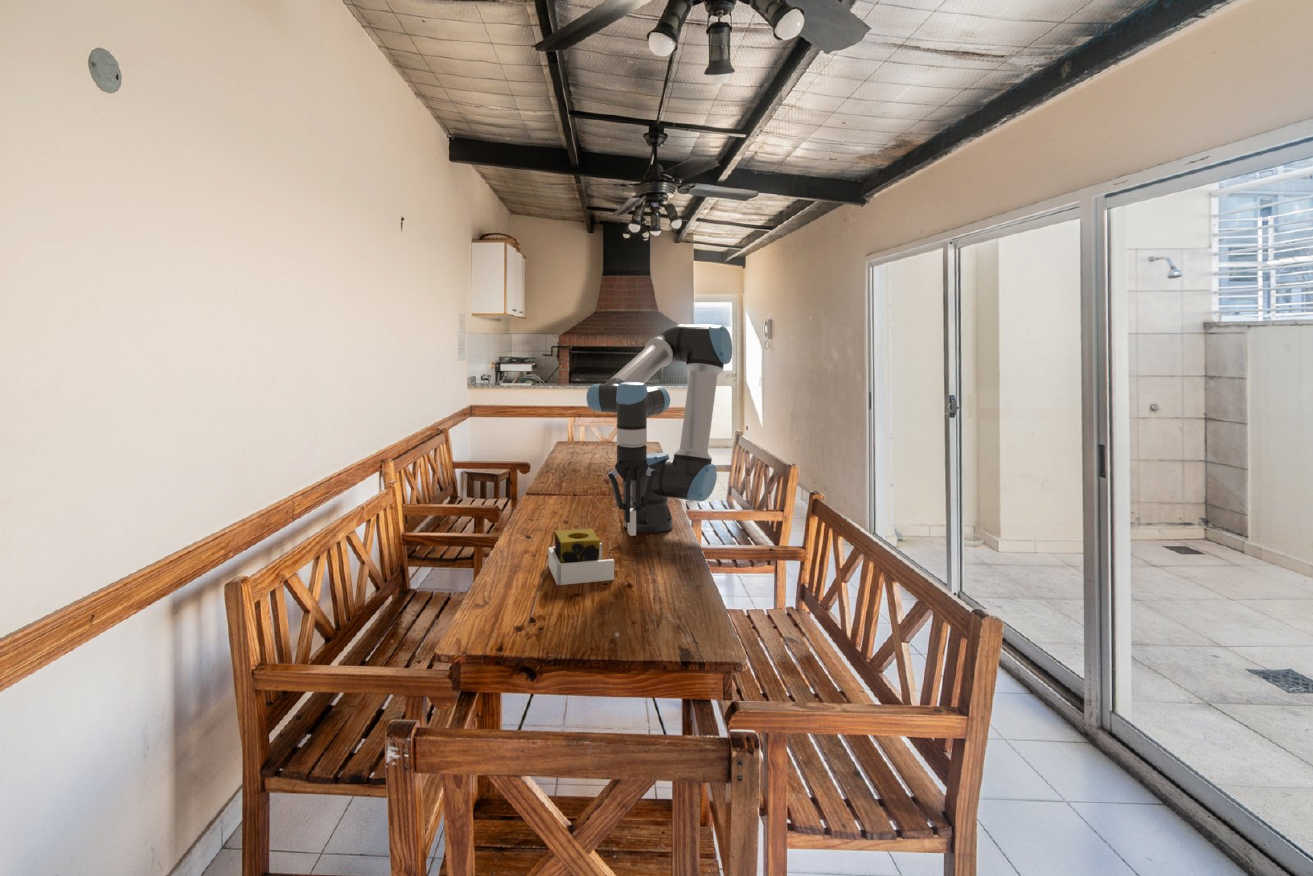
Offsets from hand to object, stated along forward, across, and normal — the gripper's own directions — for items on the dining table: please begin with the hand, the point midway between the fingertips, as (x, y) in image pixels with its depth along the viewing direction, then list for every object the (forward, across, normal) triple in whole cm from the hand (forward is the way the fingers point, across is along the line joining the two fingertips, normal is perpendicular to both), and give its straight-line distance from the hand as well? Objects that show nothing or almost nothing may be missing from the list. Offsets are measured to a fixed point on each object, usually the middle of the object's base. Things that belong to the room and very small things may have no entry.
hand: (631, 533), depth 164 cm
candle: (+9, +15, 0) cm, 17 cm away
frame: (+9, +13, +1) cm, 16 cm away
